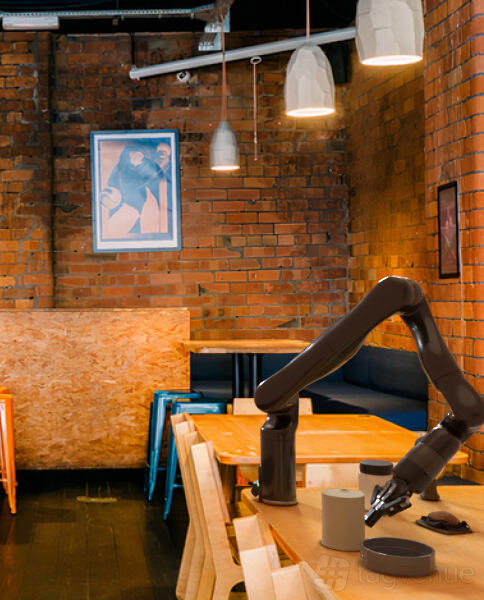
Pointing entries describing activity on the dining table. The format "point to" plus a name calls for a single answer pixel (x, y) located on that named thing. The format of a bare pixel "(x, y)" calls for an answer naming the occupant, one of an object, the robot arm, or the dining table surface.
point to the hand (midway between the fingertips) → (366, 524)
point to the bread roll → (444, 523)
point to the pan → (397, 556)
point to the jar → (373, 477)
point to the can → (343, 518)
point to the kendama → (431, 489)
